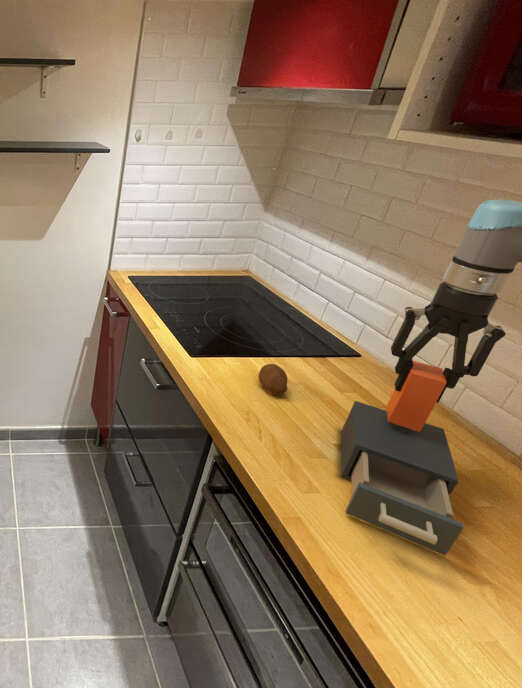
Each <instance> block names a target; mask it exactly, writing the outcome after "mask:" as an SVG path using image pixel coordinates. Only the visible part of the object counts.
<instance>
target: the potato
mask: <svg viewBox="0 0 522 688" xmlns="http://www.w3.org/2000/svg"><path fill="white" fill-rule="evenodd" d="M258 380H259V382H260V384H261V386H262V387H263V389H264V390H266V391H267V392H268V393H270V394H271V395H272V394H273V395H283V394H285V393H286V392H287V390H288V376H287V373H286V371H285V369H284V368H282V367H281V366H279V365H277V364H275V363H267V364H264V365H263V366H262V367H261V368H260V370H259V372H258Z"/></svg>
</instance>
